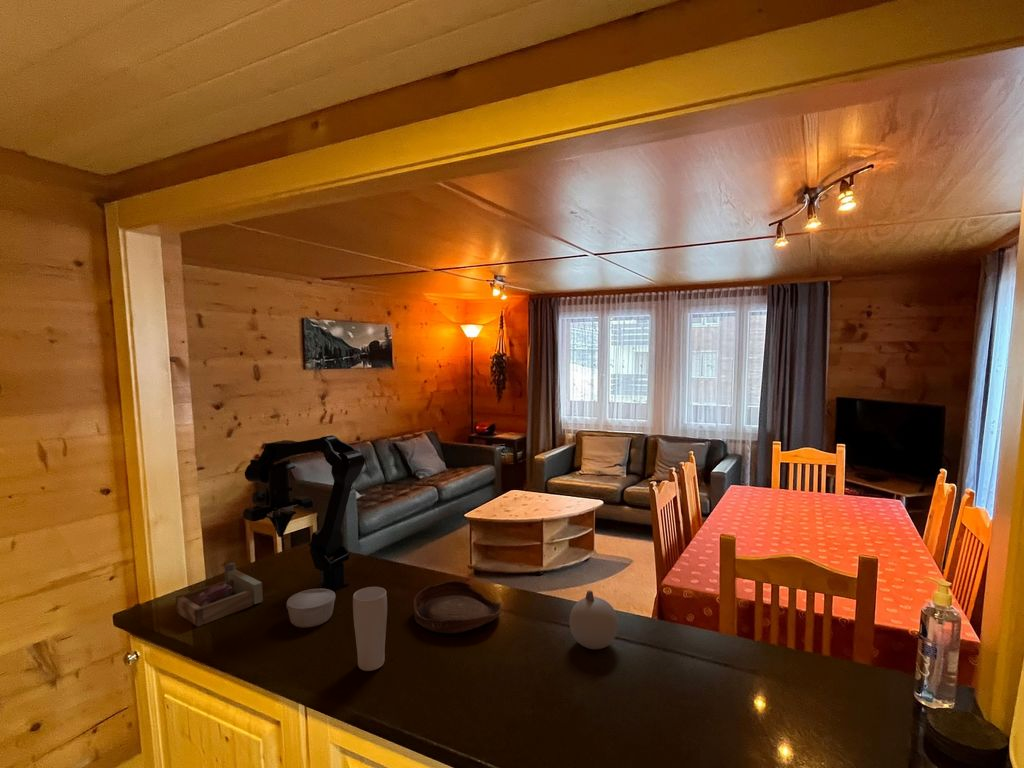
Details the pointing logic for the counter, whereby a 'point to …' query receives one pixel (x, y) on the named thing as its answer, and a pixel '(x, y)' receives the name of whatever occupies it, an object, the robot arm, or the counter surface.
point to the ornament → (593, 622)
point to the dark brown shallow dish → (453, 608)
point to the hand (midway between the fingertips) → (280, 536)
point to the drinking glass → (370, 626)
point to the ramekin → (311, 607)
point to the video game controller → (213, 594)
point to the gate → (243, 582)
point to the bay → (212, 605)
